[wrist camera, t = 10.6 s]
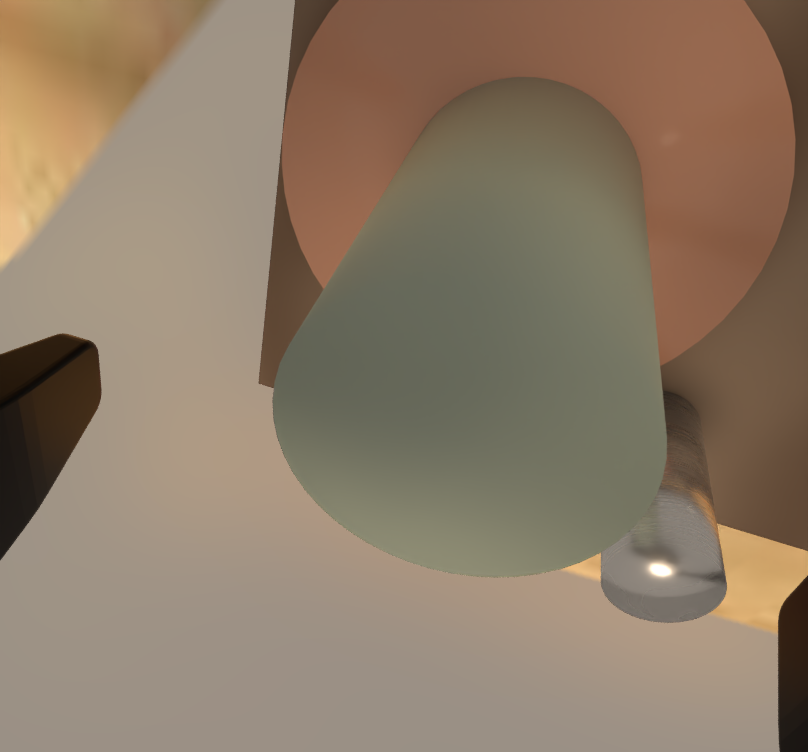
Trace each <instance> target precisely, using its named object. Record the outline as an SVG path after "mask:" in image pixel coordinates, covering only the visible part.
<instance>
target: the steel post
mask: <svg viewBox="0 0 808 752" xmlns="http://www.w3.org/2000/svg"><path fill="white" fill-rule="evenodd" d="M663 401H664V412H665V422H666V433H667V460H666V465H665V470H664V474H663V479H662V482H661V484H660V487H659V489H658V492H657V494H656V497H655V499H654V500H653V502H652V503H651V505H650V507H649V508H648V510H647V511H646V513H645V515H644V516H643V517H642V518H641V519H640V520H639V521H638V523H637V524H636V525H635V526H634V527H633V528H632V529H631V530H630V531H629V532H628V533H627V534H625V535H624V536H623V537H622V538H621V539H620V540H618V541H617V542H616V543H614V544H613V545H611V546H610V547H608V548H607V549H605V550H603V551H602V552H601V586H602V589H603V592H604V594H605V596H606V597H607V598H608V600H609V601H610V602H611V603H613V605H615V606H616V607H617V608H619V609H620V610H622V611H623V612H625V613H627V614H629V615H631V616H634V617H637V618H640V619H644V620H648V621H654V622H665V623H673V622H683V621H688V620H693V619H696V618H699V617H701V616H704V615H706V614H708V613H709V612H711V611H713V610H714V609H715V608H716V607H717V606H718V605H719V604H720V603H721V602H722V600H723V599H724V597H725V594H726V590H727V583H726V576H725V570H724V564H723V558H722V551H721V545H720V539H719V533H718V526H717V520H716V514H715V508H714V501H713V495H712V489H711V483H710V476H709V470H708V464H707V458H706V452H705V445H704V439H703V433H702V427H701V421H700V417H699V414H698V412H697V411H696V409H695V408H694V407H693V405H692V404H691V403H689V402H688V401H687V400H686V399H684V398H683V397H681V396H679V395H677V394H674V393H671V392H667V391H663Z"/></svg>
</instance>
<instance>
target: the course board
mask: <svg viewBox="0 0 808 752" xmlns="http://www.w3.org/2000/svg"><path fill="white" fill-rule="evenodd" d="M512 77H536V78H543V79H550V80H554V81H557V82H561V83H565V84H567V85H570V86H572V87H574V88H576V89H579V90H581V91H583V92H584V93H586V94H588V95H589V96H591V97H593V98H594V99H596V100H597V101H598V102H599V103H601V104H602V105H603V106H604V107H605V108H607V109H608V110H609V111H610V112H611V113H612V114H613V116H614V117H615V118H616V119H617V120H618V121H619V122H620V124H621V125H622V127H623V128H624V130H625V131H626V133H627V134H628V136H629V138H630V140H631V142H632V144H633V146H634V148H635V150H636V154H637V157H638V160H639V163H640V168H641V175H642V182H643V192H644V203H645V213H646V224H647V234H648V245H649V255H650V265H651V276H652V286H653V297H654V307H655V318H656V328H657V339H658V349H659V360H660V370H661V380H662V391H667V392H671V393H674V394H677V395H679V396H681V397H683V398H684V399H686V400H687V401H688V402H689V403H691V404H692V405H693V407H694V408H695V409H696V411H697V412H698V414H699V417H700V421H701V427H702V433H703V439H704V445H705V452H706V458H707V464H708V470H709V476H710V483H711V489H712V495H713V501H714V508H715V514H716V520H717V523H718V524H721V525H724V526H728V527H731V528H734V529H737V530H741V531H744V532H747V533H751V534H754V535H757V536H760V537H764V538H767V539H770V540H774V541H777V542H780V543H783V544H787V545H790V546H793V547H797V548H800V549H803V550H806V551H808V0H295V8H294V20H293V29H292V40H291V50H290V61H289V71H288V82H287V93H286V102H285V114H284V123H283V133H282V144H281V154H280V165H279V175H278V186H277V197H276V207H275V217H274V227H273V238H272V249H271V260H270V270H269V281H268V290H267V300H266V311H265V321H264V332H263V343H262V353H261V363H260V373H259V384H262V385H265V386H268V387H272V388H274V383H275V379H276V375H277V372H278V368H279V365H280V362H281V360H282V358H283V356H284V354H285V352H286V350H287V348H288V346H289V344H290V342H291V341H292V339H293V338H294V336H295V334H296V333H297V331H298V330H299V328H300V326H301V325H302V323H303V322H304V320H305V318H306V317H307V315H308V314H309V312H310V310H311V309H312V307H313V306H314V304H315V302H316V301H317V299H318V298H319V296H320V294H321V293H322V291H323V290H324V288H325V286H326V285H327V283H328V282H329V280H330V278H331V277H332V275H333V273H334V272H335V270H336V269H337V267H338V265H339V264H340V262H341V261H342V259H343V257H344V256H345V254H346V253H347V251H348V249H349V248H350V246H351V245H352V243H353V241H354V240H355V238H356V237H357V235H358V233H359V232H360V230H361V229H362V227H363V225H364V224H365V222H366V221H367V219H368V217H369V216H370V214H371V213H372V211H373V209H374V208H375V206H376V204H377V203H378V201H379V200H380V198H381V196H382V195H383V193H384V192H385V190H386V188H387V187H388V185H389V184H390V182H391V180H392V179H393V177H394V176H395V174H396V172H397V171H398V169H399V168H400V166H401V164H402V163H403V161H404V160H405V158H406V156H407V155H408V153H409V152H410V150H411V148H412V147H413V145H414V143H415V142H416V140H417V139H418V137H419V135H420V134H421V132H422V131H423V130H424V128H425V127H426V125H427V124H428V123H429V121H430V120H431V119H432V118H433V117H434V116H435V115H436V114H437V112H438V111H439V110H440V109H441V108H443V107H444V106H445V105H446V104H448V103H449V102H450V101H451V100H453V99H454V98H456V97H457V96H459V95H461V94H462V93H464V92H466V91H467V90H470V89H472V88H474V87H476V86H479V85H481V84H484V83H488V82H491V81H495V80H498V79H505V78H512Z"/></svg>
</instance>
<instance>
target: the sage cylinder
mask: <svg viewBox="0 0 808 752" xmlns="http://www.w3.org/2000/svg"><path fill="white" fill-rule="evenodd" d="M273 416H274V417H273V418H274V424H275V428H276V433H277V437H278V441H279V443H280V446H281V449H282V451H283V454H284V456H285V458H286V460H287V462H288V464H289V466H290V468H291V470H292V472H293V473H294V475H295V476H296V478H297V479H298V481H299V482H300V483H301V485H302V486H303V488H304V489H305V490H306V492H307V493H308V494H309V495H310V496H311V497H312V498H313V500H314V501H315V502H316V503H317V504H318V505H319V506H320V507H321V508H322V509H323V510H324V511H325V512H326V513H327V514H329V516H331V517H332V518H333V519H334V520H335V521H337V522H338V523H339V524H340V525H342V526H343V527H344V528H346V529H347V530H348V531H350V532H351V533H353V534H354V535H356V536H357V537H359V538H361V539H362V540H364V541H366V542H367V543H369V544H371V545H373V546H374V547H376V548H379V549H380V550H382V551H384V552H386V553H388V554H391V555H393V556H396V557H398V558H400V559H403V560H405V561H408V562H411V563H414V564H418V565H420V566H424V567H427V568H430V569H435V570H439V571H443V572H448V573H453V574H460V575H468V576H477V577H519V576H527V575H534V574H541V573H546V572H550V571H554V570H559V569H562V568H565V567H568V566H571V565H574V564H577V563H580V562H582V561H584V560H586V559H588V558H590V557H592V556H595V555H597V554H599V553H600V552H602V551H603V550H605V549H607V548H608V547H610V546H611V545H613V544H614V543H616V542H617V541H618V540H620V539H621V538H622V537H623V536H624V535H625V534H627V533H628V532H629V531H630V530H631V529H632V528H633V527H634V526H635V525H636V524H637V523H638V521H639V520H640V519H641V518H642V517H643V516H644V515H645V513H646V511H647V510H648V508H649V507H650V505H651V503H652V502H653V500H654V499H655V497H656V494H657V492H658V489H659V487H660V484H661V482H662V479H663V474H664V470H665V465H666V460H667V433H666V422H665V412H664V401H663V391H662V380H661V370H660V360H659V349H658V339H657V328H656V318H655V307H654V297H653V286H652V276H651V265H650V255H649V245H648V234H647V224H646V213H645V203H644V192H643V182H642V175H641V168H640V163H639V160H638V157H637V154H636V150H635V148H634V146H633V144H632V142H631V140H630V138H629V136H628V134H627V133H626V131H625V130H624V128H623V127H622V125H621V124H620V122H619V121H618V120H617V119H616V118H615V117H614V116H613V114H612V113H611V112H610V111H609V110H608V109H607V108H605V107H604V106H603V105H602V104H601V103H599V102H598V101H597V100H596V99H594V98H593V97H591V96H589V95H588V94H586V93H584V92H583V91H581V90H579V89H576V88H574V87H572V86H570V85H567V84H565V83H561V82H557V81H554V80H550V79H543V78H536V77H512V78H505V79H498V80H495V81H491V82H488V83H484V84H481V85H479V86H476V87H474V88H472V89H470V90H467V91H466V92H464V93H462V94H461V95H459V96H457V97H456V98H454V99H453V100H451V101H450V102H449V103H448V104H446V105H445V106H444V107H443V108H441V109H440V110H439V111H438V112H437V114H436V115H435V116H434V117H433V118H432V119H431V120H430V121H429V123H428V124H427V125H426V127H425V128H424V130H423V131H422V132H421V134H420V135H419V137H418V139H417V140H416V142H415V143H414V145H413V147H412V148H411V150H410V152H409V153H408V155H407V156H406V158H405V160H404V161H403V163H402V164H401V166H400V168H399V169H398V171H397V172H396V174H395V176H394V177H393V179H392V180H391V182H390V184H389V185H388V187H387V188H386V190H385V192H384V193H383V195H382V196H381V198H380V200H379V201H378V203H377V204H376V206H375V208H374V209H373V211H372V213H371V214H370V216H369V217H368V219H367V221H366V222H365V224H364V225H363V227H362V229H361V230H360V232H359V233H358V235H357V237H356V238H355V240H354V241H353V243H352V245H351V246H350V248H349V249H348V251H347V253H346V254H345V256H344V257H343V259H342V261H341V262H340V264H339V265H338V267H337V269H336V270H335V272H334V273H333V275H332V277H331V278H330V280H329V282H328V283H327V285H326V286H325V288H324V290H323V291H322V293H321V294H320V296H319V298H318V299H317V301H316V302H315V304H314V306H313V307H312V309H311V310H310V312H309V314H308V315H307V317H306V318H305V320H304V322H303V323H302V325H301V326H300V328H299V330H298V331H297V333H296V334H295V336H294V338H293V339H292V341H291V342H290V344H289V346H288V348H287V350H286V352H285V354H284V356H283V358H282V360H281V362H280V365H279V368H278V372H277V375H276V379H275V383H274V392H273Z"/></svg>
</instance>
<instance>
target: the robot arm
mask: <svg viewBox="0 0 808 752" xmlns="http://www.w3.org/2000/svg"><path fill="white" fill-rule="evenodd" d="M100 399H101V380H100V367H99V355H98V349H97V347H96V345H95V344H94V343H93V342H91V341H89V340H86V339H83V338H79V337H76V336H73V335H69V334H57V335H54V336H51V337H48V338H45V339H42V340H40V341H37V342H34V343H31V344H28V345H25V346H23V347H20V348H17V349H14V350H11V351H8V352H6V353H3V354H0V560H1V559H2V558H3V556H4V555H5V554H6V552H7V551H8V550H9V548H10V547H11V546H12V544H13V543H14V541H15V540H16V539H17V537H18V536H19V535H20V533H21V532H22V531H23V529H24V528H25V526H26V525H27V524H28V523H29V521H30V520H31V518H32V517H33V516H34V514H35V513H36V511H37V510H38V508H39V507H40V505H41V504H42V502H43V501H44V499H45V497H46V496H47V494H48V493H49V491H50V489H51V487H52V486H53V484H54V482H55V481H56V479H57V477H58V475H59V474H60V472H61V470H62V469H63V467H64V465H65V464H66V462H67V460H68V458H69V457H70V455H71V453H72V452H73V450H74V448H75V446H76V445H77V443H78V441H79V440H80V438H81V436H82V434H83V433H84V431H85V429H86V428H87V426H88V424H89V423H90V421H91V419H92V417H93V416H94V414H95V412H96V410H97V408H98V406H99V403H100ZM778 728H779V748H780V752H808V576H807V577H806V578H805V579H804V580H803V581H802V582H801V583H800V585H799V586H798V587H797V588H796V589H795V590H794V591H793V592H792V593H791V594H790V595H789V597H788V598H787V599H786V600H785V601H784V603H783V605H782V607H781V610H780V613H779V619H778Z"/></svg>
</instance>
